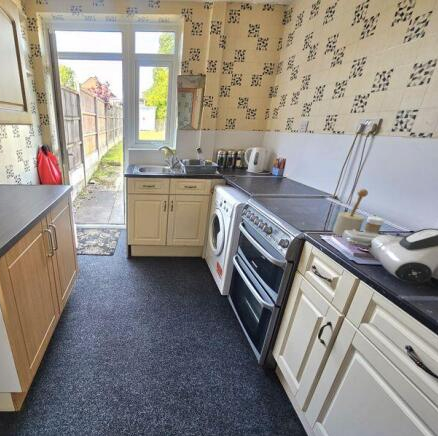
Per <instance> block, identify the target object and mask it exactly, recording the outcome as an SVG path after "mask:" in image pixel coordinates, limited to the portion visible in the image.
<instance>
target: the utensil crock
mask: <svg viewBox="0 0 438 436" xmlns="http://www.w3.org/2000/svg"><path fill="white" fill-rule="evenodd" d="M368 191H369V190H367V189H365V188H361V189H359V190H357V196H358V197H357V199H356V201H355V204H354V205H353V208H352V210H351V212H349V211H347V212H346V211H339V212H338V214H337V216H336V219H335V223H334V226H333V230H332V233H333V234H334V235H335V236H337V237H338V236H339V237H341V236H343V233H344V231H345V230H351V231H352V230H353V229H357V230H359V232H361V229H362V226H363V224H364V221H365V217H364V216H362V215H360V214H357V213H356V211H357V209H358V207H359V205H360V203H361V201H362V200H363V198H365V197H367V196H368V195H369V192H368Z"/></svg>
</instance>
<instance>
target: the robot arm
mask: <svg viewBox="0 0 438 436" xmlns="http://www.w3.org/2000/svg"><path fill="white" fill-rule="evenodd" d="M341 239H342V240H343V241H344V242H345V243H346V244H348V245H350V246H352V247H355V248H357V247H362V248H368V249H369V252H368V253H370V254H371V255H372V257H373V258H374V259H375V260H377V261H378V262H379V264H381V266H382V267H383V268H384V269H385V270H386V271H387V272H388V273H389V274H391V275H392V276H393V277H395V278H396V279H398V280H401V281H403V282H406V283H411V284H412V283H413V284H419V283H424V282H426V281H428V280H429V282H431V283H432V284H434V285H435V286H438V228H432V227H431V228H430V227H429V228H423V229H418V230H416V231H414V232H411V233H409V234H408V235H406V236H404V237H403V236H397V235H392V234H389V233H387V232H382V233H381V234H380V233H378V234H374V233H366V232H363V231H360V232H359V230H357V229H353V230H352V231H351V230H345V231H344V233H343V236H342V237H341Z"/></svg>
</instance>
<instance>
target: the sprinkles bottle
mask: <svg viewBox="0 0 438 436" xmlns="http://www.w3.org/2000/svg"><path fill="white" fill-rule="evenodd" d="M384 222H385V221H384V219H383V218H381V217H377V216H368V217H367V219H366V223H365V226H364V228H363V231H362V232H366V233H374V234H380V230H381V227H382V226H383V224H384ZM360 248H362V247H360ZM362 249H367V250H369V249H368V248H362Z"/></svg>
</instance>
